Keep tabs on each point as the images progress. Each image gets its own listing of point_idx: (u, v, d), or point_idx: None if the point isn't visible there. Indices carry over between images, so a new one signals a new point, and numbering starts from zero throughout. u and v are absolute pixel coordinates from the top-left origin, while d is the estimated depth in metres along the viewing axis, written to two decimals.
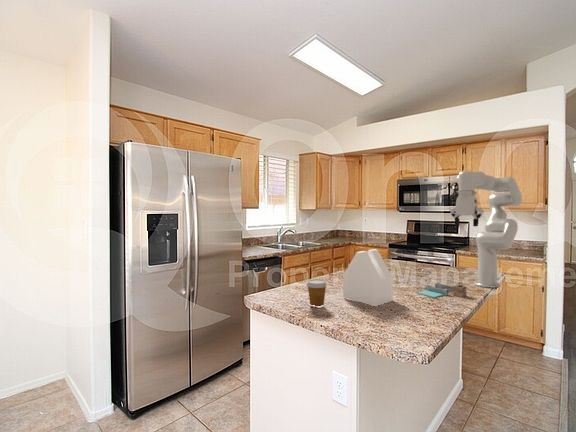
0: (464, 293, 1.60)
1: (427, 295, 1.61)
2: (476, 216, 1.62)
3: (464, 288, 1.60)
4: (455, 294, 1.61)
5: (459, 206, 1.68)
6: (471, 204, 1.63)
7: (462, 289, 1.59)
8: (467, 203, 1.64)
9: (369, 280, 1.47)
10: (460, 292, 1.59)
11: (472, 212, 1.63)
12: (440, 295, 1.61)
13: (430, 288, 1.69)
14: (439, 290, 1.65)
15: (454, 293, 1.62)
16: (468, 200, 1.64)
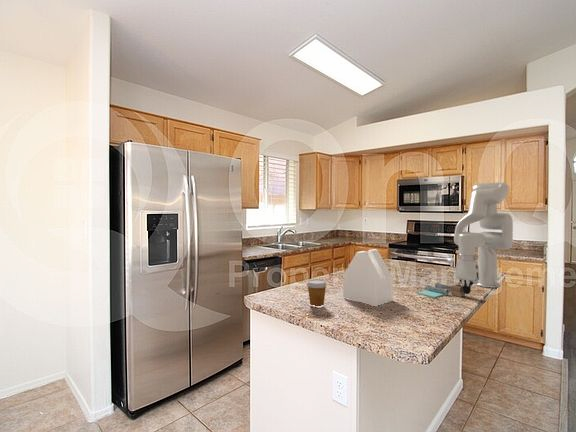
0: (462, 292, 1.60)
1: (427, 295, 1.61)
2: None
3: (462, 287, 1.60)
4: (454, 294, 1.62)
5: (459, 270, 1.59)
6: (472, 270, 1.54)
7: (460, 288, 1.59)
8: (468, 268, 1.55)
9: (369, 280, 1.47)
10: (459, 291, 1.59)
11: (473, 278, 1.54)
12: (440, 295, 1.61)
13: (430, 288, 1.69)
14: (439, 290, 1.65)
15: (453, 293, 1.62)
16: (469, 265, 1.55)
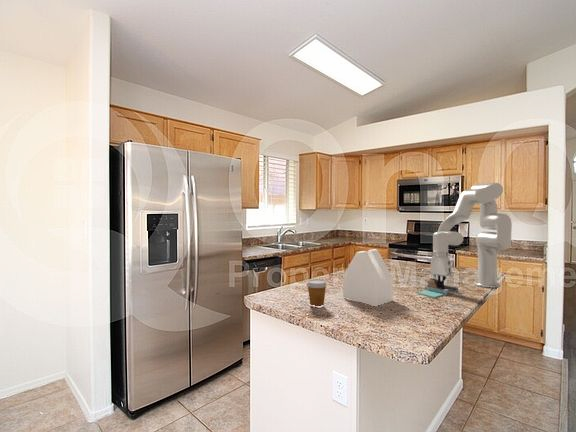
0: None
1: (427, 295, 1.61)
2: (442, 279, 1.69)
3: None
4: None
5: (434, 266, 1.71)
6: (444, 266, 1.66)
7: (435, 281, 1.72)
8: (441, 264, 1.67)
9: (369, 280, 1.47)
10: (434, 284, 1.71)
11: (446, 274, 1.66)
12: (440, 295, 1.61)
13: (430, 288, 1.69)
14: (439, 290, 1.65)
15: None
16: (442, 261, 1.67)
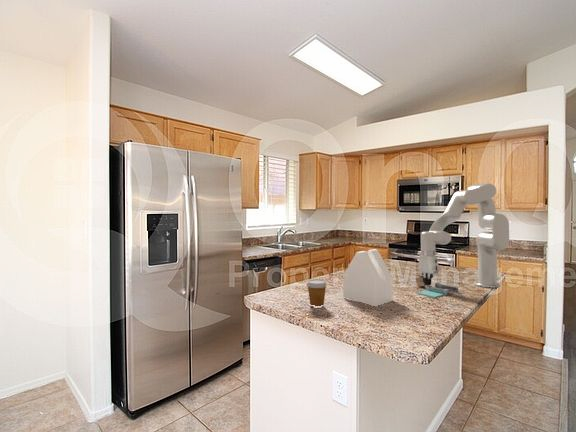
0: None
1: (427, 295, 1.61)
2: None
3: None
4: (419, 285, 1.80)
5: (421, 264, 1.77)
6: (431, 264, 1.72)
7: (423, 278, 1.78)
8: (428, 262, 1.74)
9: (369, 280, 1.47)
10: (422, 281, 1.78)
11: (432, 271, 1.72)
12: (440, 295, 1.61)
13: (430, 288, 1.69)
14: (439, 290, 1.65)
15: (418, 284, 1.80)
16: (429, 260, 1.73)
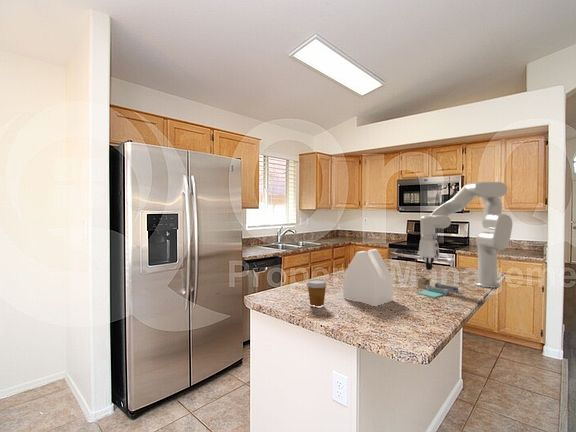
0: None
1: (427, 295, 1.61)
2: (430, 261, 1.75)
3: (427, 280, 1.78)
4: (419, 286, 1.79)
5: (422, 249, 1.77)
6: (432, 248, 1.72)
7: (425, 281, 1.77)
8: (428, 247, 1.73)
9: (369, 280, 1.47)
10: (424, 284, 1.77)
11: (433, 255, 1.72)
12: (440, 295, 1.61)
13: (430, 288, 1.69)
14: (439, 290, 1.65)
15: (419, 285, 1.80)
16: (429, 244, 1.73)
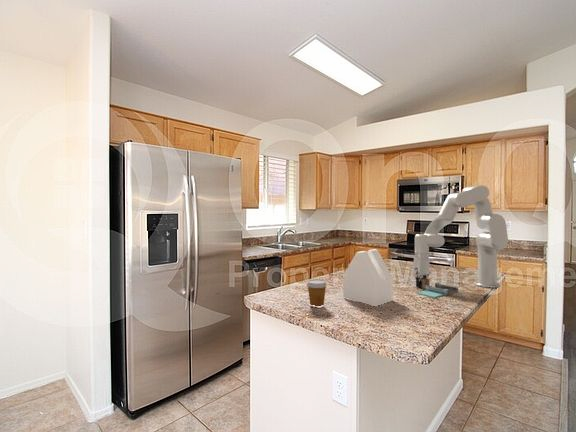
0: None
1: (427, 295, 1.61)
2: None
3: (427, 280, 1.78)
4: None
5: (422, 267, 1.77)
6: (428, 264, 1.80)
7: (425, 281, 1.77)
8: (427, 264, 1.79)
9: (369, 280, 1.47)
10: (423, 284, 1.77)
11: (429, 271, 1.81)
12: (440, 295, 1.61)
13: (430, 288, 1.69)
14: (439, 290, 1.65)
15: None
16: (427, 261, 1.79)
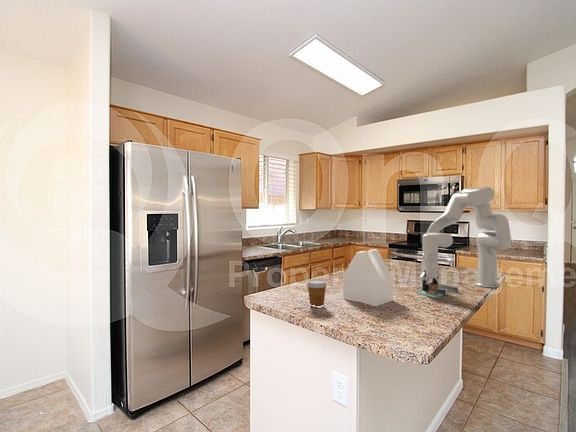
0: (435, 291, 1.62)
1: (427, 295, 1.61)
2: None
3: (436, 286, 1.62)
4: (427, 292, 1.63)
5: (431, 270, 1.61)
6: (438, 267, 1.64)
7: (434, 287, 1.61)
8: (436, 266, 1.63)
9: (369, 280, 1.47)
10: (432, 290, 1.61)
11: (438, 275, 1.65)
12: (440, 295, 1.61)
13: None
14: (439, 290, 1.65)
15: None
16: (436, 263, 1.63)
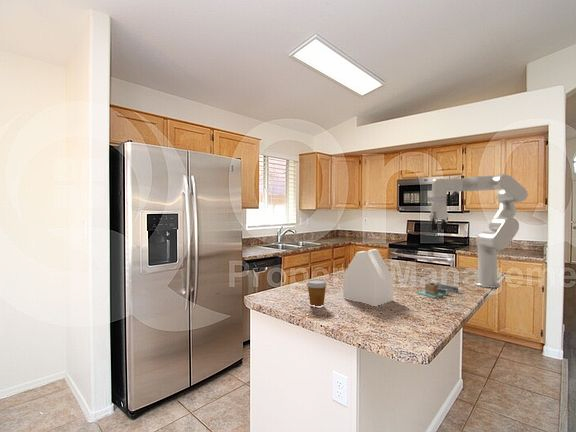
0: (435, 291, 1.62)
1: (427, 295, 1.61)
2: (446, 220, 1.81)
3: (436, 286, 1.62)
4: (427, 292, 1.63)
5: (440, 211, 1.75)
6: (446, 209, 1.78)
7: (434, 287, 1.61)
8: (445, 208, 1.77)
9: (369, 280, 1.47)
10: (432, 290, 1.61)
11: (446, 217, 1.79)
12: (440, 295, 1.61)
13: None
14: (439, 290, 1.65)
15: (426, 291, 1.64)
16: (445, 206, 1.78)
